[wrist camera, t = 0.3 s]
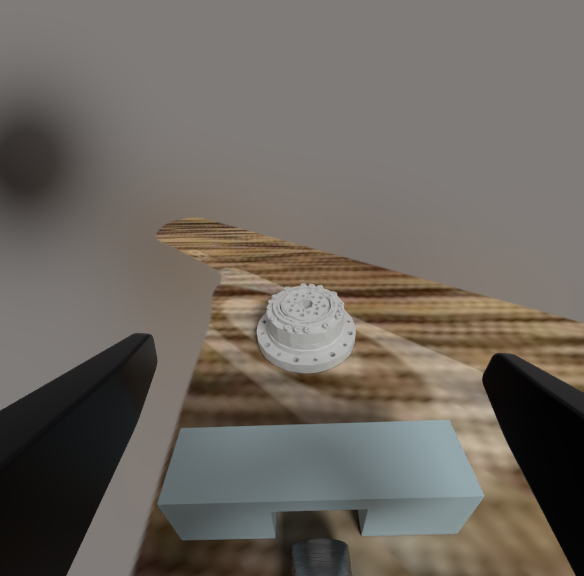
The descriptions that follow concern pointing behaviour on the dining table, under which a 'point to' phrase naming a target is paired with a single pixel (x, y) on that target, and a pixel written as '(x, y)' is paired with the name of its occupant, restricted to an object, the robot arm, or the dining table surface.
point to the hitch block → (319, 478)
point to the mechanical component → (306, 330)
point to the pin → (321, 558)
